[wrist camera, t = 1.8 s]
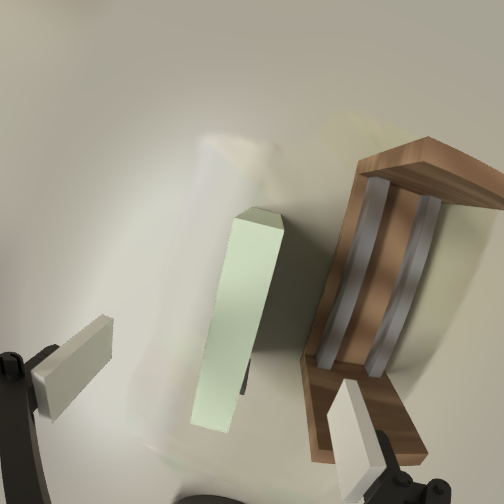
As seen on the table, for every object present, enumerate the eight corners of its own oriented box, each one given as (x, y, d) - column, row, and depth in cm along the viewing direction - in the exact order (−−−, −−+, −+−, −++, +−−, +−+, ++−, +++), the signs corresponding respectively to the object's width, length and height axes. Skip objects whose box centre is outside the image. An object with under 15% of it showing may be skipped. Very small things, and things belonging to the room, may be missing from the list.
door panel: (249, 352, 35) (235, 434, 22) (219, 344, 35) (190, 423, 22) (286, 215, 32) (294, 232, 18) (251, 206, 32) (234, 217, 19)
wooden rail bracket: (376, 374, 35) (419, 465, 19) (300, 360, 35) (311, 461, 19) (438, 189, 30) (536, 193, 15) (358, 160, 30) (428, 136, 15)
